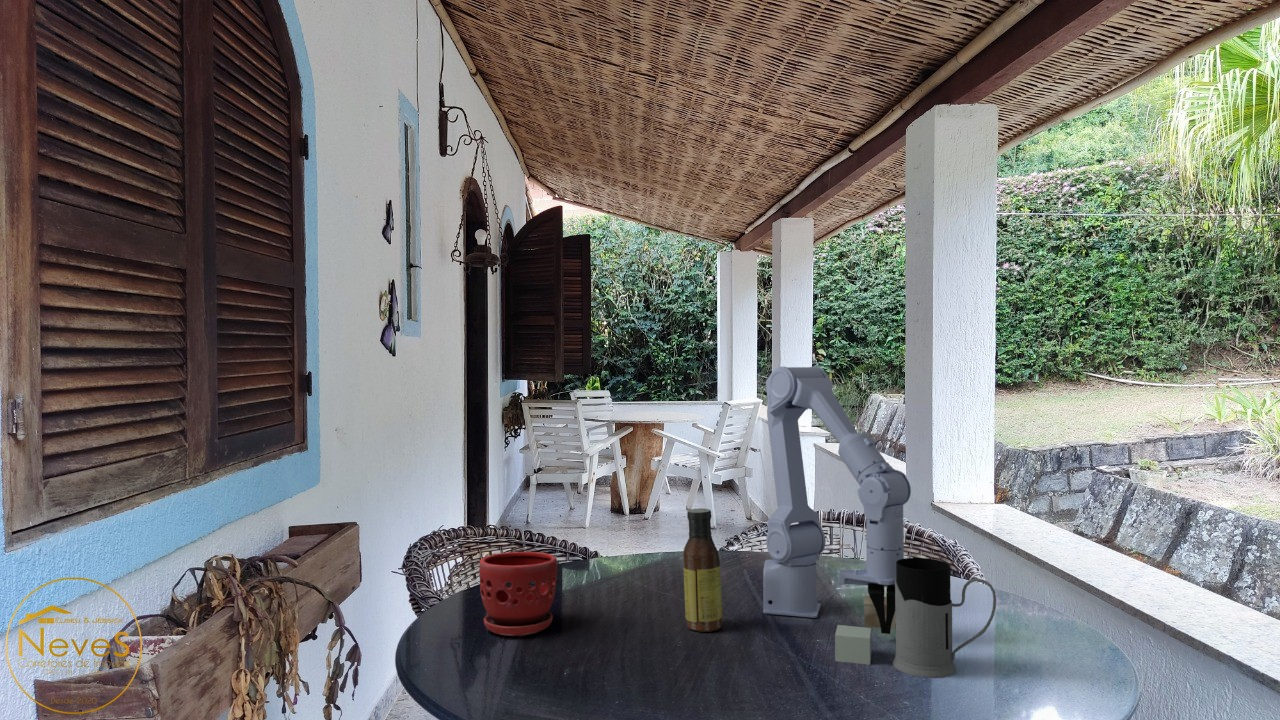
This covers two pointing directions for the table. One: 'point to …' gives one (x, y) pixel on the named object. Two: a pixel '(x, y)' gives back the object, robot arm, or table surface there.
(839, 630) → the sage block
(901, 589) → the glass holder
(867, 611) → the birch block
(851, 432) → the robot arm
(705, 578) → the sauce bottle
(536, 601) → the plant pot
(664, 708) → the table surface
